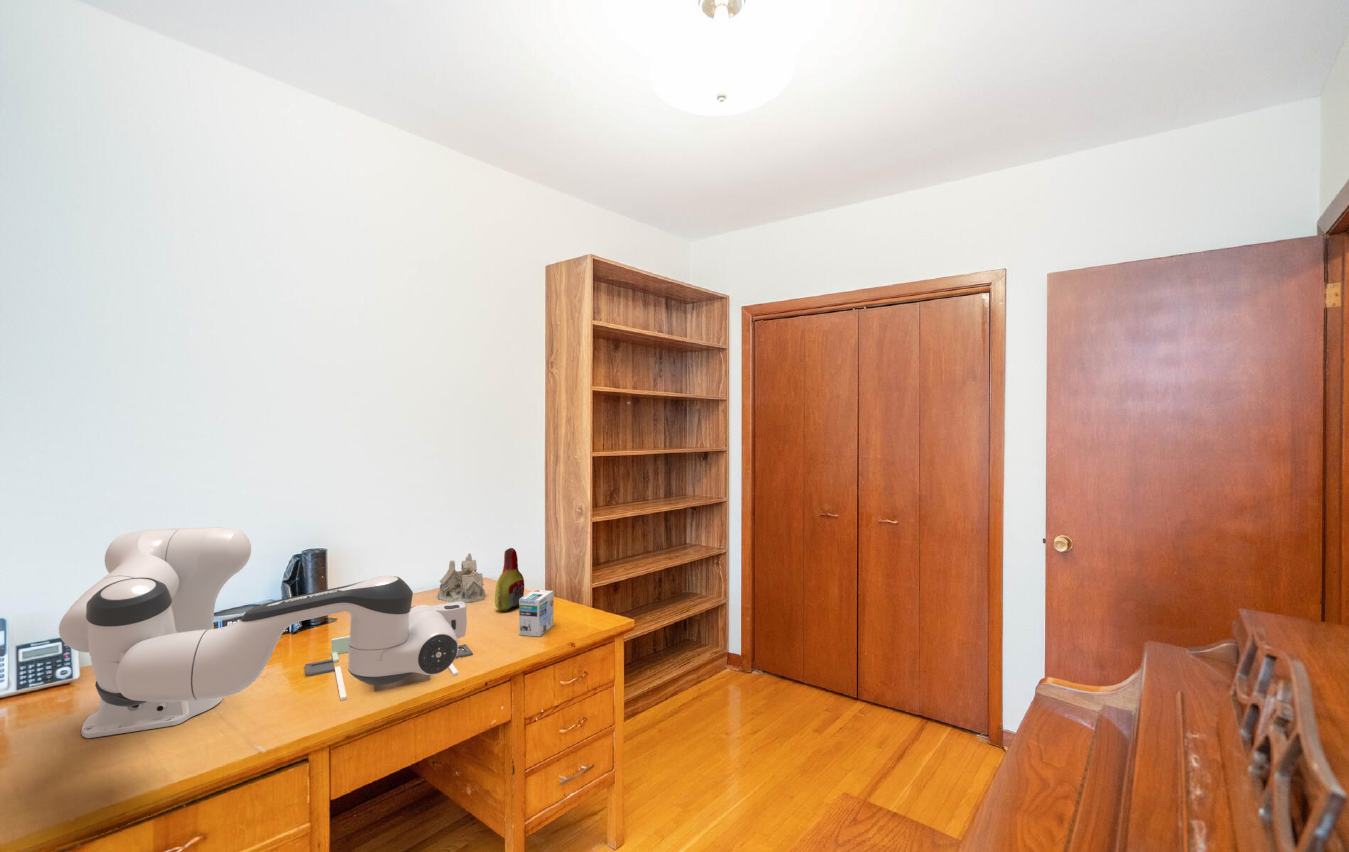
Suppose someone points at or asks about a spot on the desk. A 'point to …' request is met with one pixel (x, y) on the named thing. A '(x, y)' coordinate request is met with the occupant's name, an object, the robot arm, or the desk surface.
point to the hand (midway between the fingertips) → (410, 610)
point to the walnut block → (403, 682)
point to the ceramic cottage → (462, 583)
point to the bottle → (509, 583)
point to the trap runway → (342, 646)
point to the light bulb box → (536, 613)
